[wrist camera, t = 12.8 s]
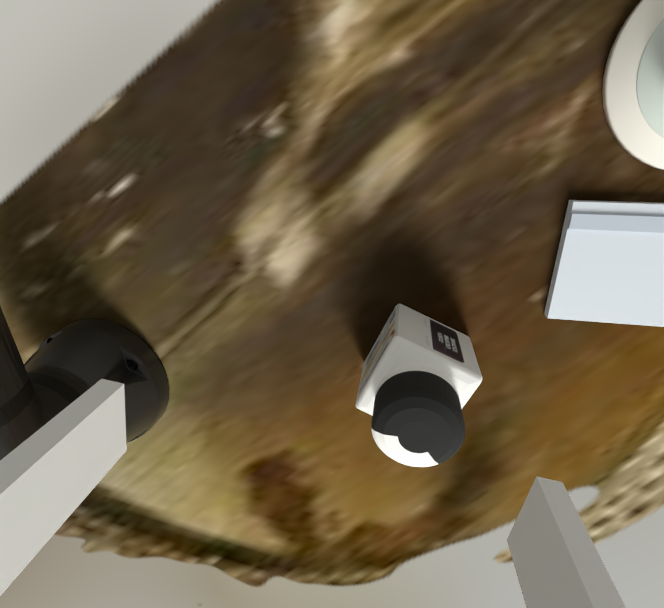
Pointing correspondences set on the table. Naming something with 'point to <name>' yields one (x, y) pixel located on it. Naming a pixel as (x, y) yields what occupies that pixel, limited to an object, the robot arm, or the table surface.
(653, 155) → the saucer
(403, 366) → the container
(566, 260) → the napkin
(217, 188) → the table surface
